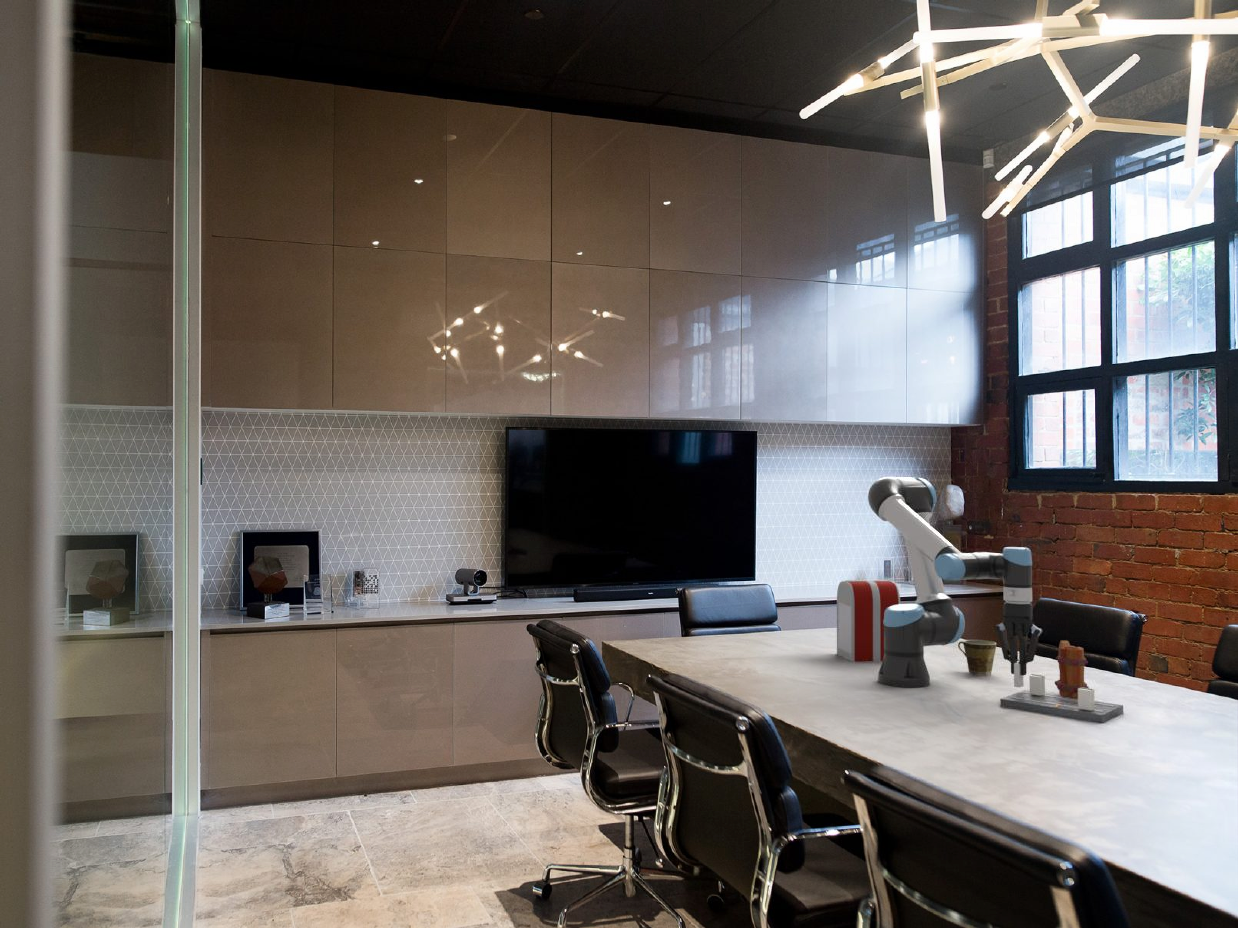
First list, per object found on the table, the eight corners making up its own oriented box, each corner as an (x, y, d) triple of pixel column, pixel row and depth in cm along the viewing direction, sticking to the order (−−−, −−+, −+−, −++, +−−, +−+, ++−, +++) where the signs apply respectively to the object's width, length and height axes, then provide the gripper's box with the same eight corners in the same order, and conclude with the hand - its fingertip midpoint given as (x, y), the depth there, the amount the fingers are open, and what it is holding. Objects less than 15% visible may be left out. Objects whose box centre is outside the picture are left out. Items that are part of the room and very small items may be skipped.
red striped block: (835, 653, 341) (835, 578, 342) (883, 652, 343) (883, 577, 344) (852, 661, 325) (852, 582, 325) (901, 661, 327) (901, 582, 327)
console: (1000, 705, 258) (1000, 697, 258) (1024, 697, 269) (1024, 689, 269) (1102, 722, 240) (1102, 713, 240) (1123, 712, 251) (1123, 704, 251)
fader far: (1029, 693, 263) (1029, 674, 264) (1033, 692, 266) (1033, 673, 266) (1040, 695, 261) (1040, 676, 262) (1044, 693, 263) (1044, 674, 264)
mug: (1092, 701, 264) (1091, 647, 265) (1060, 700, 266) (1060, 646, 266) (1077, 690, 279) (1077, 639, 279) (1048, 689, 280) (1047, 638, 281)
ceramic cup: (1003, 674, 304) (1002, 642, 304) (984, 677, 298) (983, 645, 298) (967, 667, 314) (967, 637, 315) (948, 670, 309) (948, 640, 309)
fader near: (1078, 708, 246) (1077, 688, 246) (1082, 706, 248) (1082, 686, 248) (1090, 710, 244) (1090, 689, 244) (1094, 708, 246) (1094, 688, 246)
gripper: (989, 601, 270) (990, 684, 269) (1035, 605, 261) (1037, 691, 260) (1000, 599, 275) (1001, 681, 274) (1046, 602, 266) (1047, 687, 265)
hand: (1018, 686), depth 267 cm, fingers closed
